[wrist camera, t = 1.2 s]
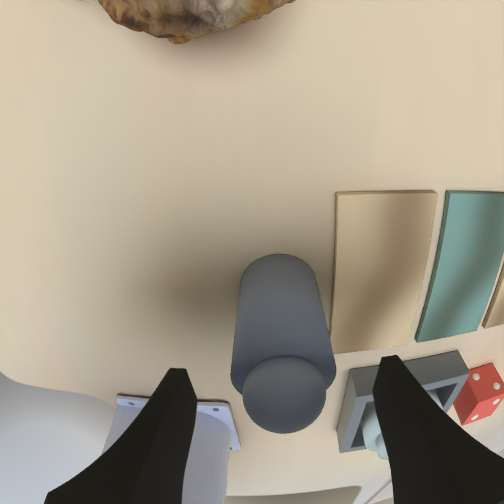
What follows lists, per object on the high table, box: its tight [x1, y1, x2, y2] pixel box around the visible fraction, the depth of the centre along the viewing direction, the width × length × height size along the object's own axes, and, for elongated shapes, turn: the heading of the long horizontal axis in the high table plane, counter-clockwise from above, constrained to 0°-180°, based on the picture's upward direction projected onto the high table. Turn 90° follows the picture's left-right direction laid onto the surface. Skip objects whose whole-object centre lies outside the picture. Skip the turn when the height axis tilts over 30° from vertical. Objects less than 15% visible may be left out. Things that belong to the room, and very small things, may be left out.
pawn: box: [230, 254, 336, 434], centre depth 13 cm, size 4×4×8 cm
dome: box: [360, 389, 443, 460], centre depth 19 cm, size 6×6×4 cm
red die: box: [453, 363, 504, 426], centre depth 19 cm, size 4×4×4 cm
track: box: [329, 191, 504, 354], centre depth 15 cm, size 17×10×1 cm, turn 95°
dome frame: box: [337, 350, 470, 453], centre depth 20 cm, size 9×9×2 cm
